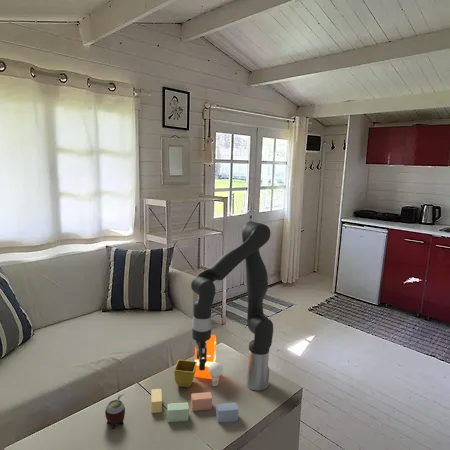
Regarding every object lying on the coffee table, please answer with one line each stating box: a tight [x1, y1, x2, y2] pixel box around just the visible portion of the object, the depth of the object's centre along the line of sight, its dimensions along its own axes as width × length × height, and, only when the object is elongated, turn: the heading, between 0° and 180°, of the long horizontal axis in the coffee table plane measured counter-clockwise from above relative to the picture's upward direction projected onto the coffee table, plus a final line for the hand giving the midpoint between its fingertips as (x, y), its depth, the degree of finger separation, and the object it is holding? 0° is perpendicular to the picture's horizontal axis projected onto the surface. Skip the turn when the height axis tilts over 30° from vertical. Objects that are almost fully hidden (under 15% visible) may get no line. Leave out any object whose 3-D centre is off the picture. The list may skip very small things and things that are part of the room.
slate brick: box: [215, 402, 240, 423], centre depth 138 cm, size 8×4×5 cm, turn 101°
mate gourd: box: [104, 393, 126, 430], centre depth 131 cm, size 8×8×15 cm
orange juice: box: [194, 334, 217, 380], centre depth 166 cm, size 8×9×20 cm
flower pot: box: [173, 359, 197, 388], centre depth 158 cm, size 9×9×9 cm
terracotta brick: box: [190, 391, 213, 412], centre depth 144 cm, size 8×4×5 cm, turn 102°
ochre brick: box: [150, 388, 163, 414], centre depth 143 cm, size 8×4×5 cm, turn 12°
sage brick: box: [166, 401, 190, 423], centre depth 137 cm, size 8×4×5 cm, turn 100°
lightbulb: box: [208, 361, 224, 387], centre depth 158 cm, size 6×6×11 cm
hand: (200, 364), depth 142 cm, fingers open, 8 cm apart
